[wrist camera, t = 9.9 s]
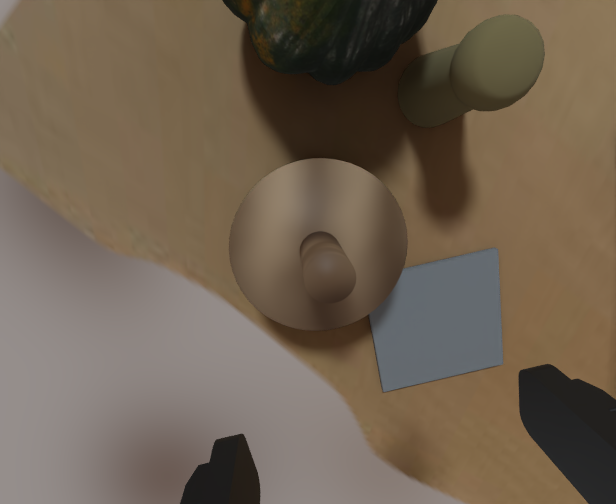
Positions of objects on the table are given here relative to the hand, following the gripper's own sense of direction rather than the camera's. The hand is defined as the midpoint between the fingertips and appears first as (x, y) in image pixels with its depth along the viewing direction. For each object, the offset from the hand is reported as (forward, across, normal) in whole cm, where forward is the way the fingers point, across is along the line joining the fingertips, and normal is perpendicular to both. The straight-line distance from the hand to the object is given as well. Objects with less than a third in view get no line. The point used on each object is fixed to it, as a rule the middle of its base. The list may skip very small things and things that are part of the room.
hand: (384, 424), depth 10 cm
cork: (+24, -13, -10) cm, 29 cm away
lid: (+18, 0, 0) cm, 18 cm away
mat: (+24, -11, +13) cm, 29 cm away
